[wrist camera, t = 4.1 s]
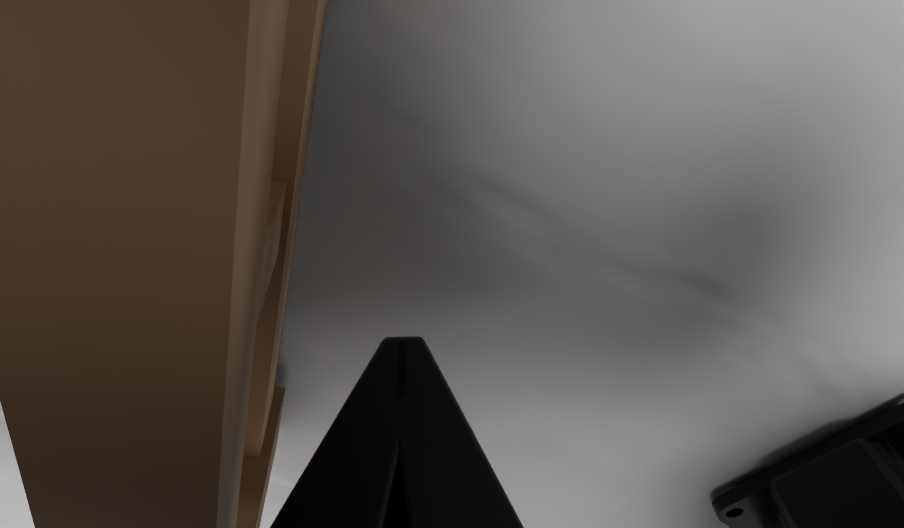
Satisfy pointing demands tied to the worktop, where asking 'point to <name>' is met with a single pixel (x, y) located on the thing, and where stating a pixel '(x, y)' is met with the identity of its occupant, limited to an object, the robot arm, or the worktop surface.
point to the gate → (149, 251)
